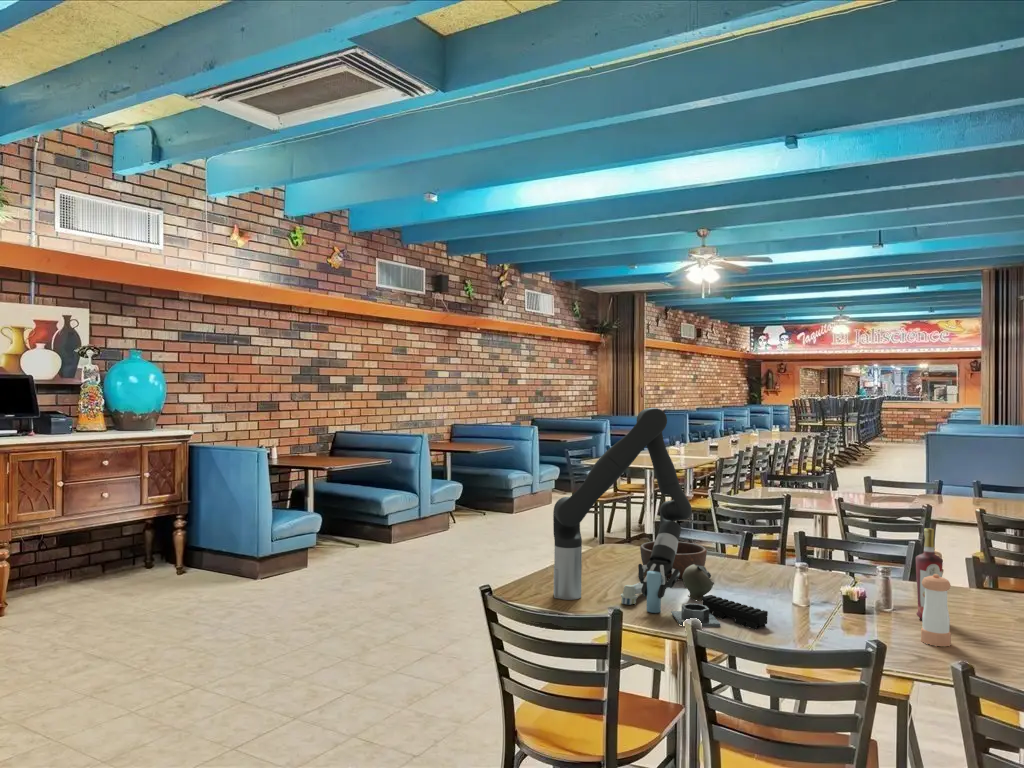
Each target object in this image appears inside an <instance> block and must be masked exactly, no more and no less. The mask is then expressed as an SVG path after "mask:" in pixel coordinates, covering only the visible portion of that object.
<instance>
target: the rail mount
mask: <svg viewBox="0 0 1024 768" xmlns="http://www.w3.org/2000/svg"><path fill="white" fill-rule="evenodd" d="M701 602H702V605H705V606H707V607H708V608H709V611H710V613H711V614H712V615H713V616H714V617H715V616H716V617H715V618H719V619H722V620H724V619H725V618H724V617H725V616H727V617H730V618H732V619H733V618H734V623H735V624H737V625H740V626H744V627H745V628H749V627H750V628H749V629H752V630H755V629H756V630H758V628H757V627H758V626H759V627H761V626H762V627H766V625H768V614H769V612H768V611H767V610H764V609H763V610H762V609H760V608H758V607H757V608H755V607H754V606H751V605H750V606H748V605H747V604H742V603H740V602H735V601H733V600H729V599H726V598H724V599H723V598H722V597H719V596H718V597H717V596H716V595H713V594H708V595H704V596H703V597H702V601H701Z"/></svg>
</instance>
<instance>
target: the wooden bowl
mask: <svg viewBox="0 0 1024 768" xmlns="http://www.w3.org/2000/svg"><path fill="white" fill-rule="evenodd" d="M654 543H655V540H654V541H649V542H644V543H642V544H641V545H640V547H639V551H640V556H641V557H640V558H641V562H642V563H641V564H642V565H647V563H648V562H649V561H650V557H651V553H652V550H653V546H654ZM707 553H708V550H707V548H706V547H705V546H703V545H701V544H697V543H692V542H686V541H678V547H677V553H676V555H675V559H674V563H673V566H672V568H673V569H678V570H679V572H680V576H679V578H678V579H682V576H683V573H684V571H685V569H686V568H687V567H689V566H691V565H693V563H694V564H695V565H699V566H704V567H706V562H707V561H706V560H707V555H708V554H707ZM645 572H646V573H647V572H648V569H646V571H645ZM671 576H672V573H670V574H669V575H668V576H667V577H666V578H667V580H669V579H670V577H671Z"/></svg>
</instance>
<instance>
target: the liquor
mask: <svg viewBox="0 0 1024 768" xmlns="http://www.w3.org/2000/svg"><path fill="white" fill-rule="evenodd" d="M923 529H924V531H923V535H924V546H923V552H922V553H920V554H918V555H916V556H915V573H916V574H915V576H916V588H917V589H916V592H917V593H916V594H917V595H916V596H917V611H916V616H917V617H919V619H920V620H922V615H923V610H924V604H925V587H923V585H922V580H923V579H924V577H928V576H933V574H938V575H939V577H943V567H944V566H943V565H944V564H943V563H944V562H943V561H944V560H943V559H942V557H940V556H938V555H937V554H936V553H935V552H936V551H935V543H934V541H935V540H934V538H935V529H934V528H931V527H927V528H926V527H925V528H923Z"/></svg>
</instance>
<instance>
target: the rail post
mask: <svg viewBox="0 0 1024 768" xmlns="http://www.w3.org/2000/svg"><path fill="white" fill-rule="evenodd" d="M646 576H647V595H646V612H648V613H654V614H657V613H661V611H662V610H661V608H662V606H661V605H662V604H661V603H662V598H661V599H659V598H658V592H659V588H660V585H661V572H658V571H648V572H646Z"/></svg>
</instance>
